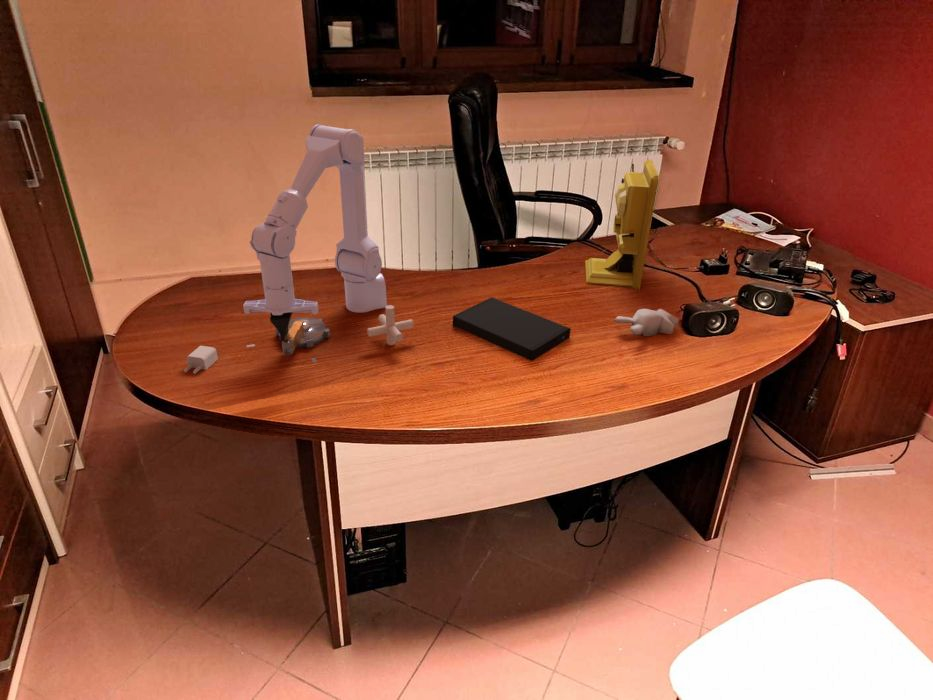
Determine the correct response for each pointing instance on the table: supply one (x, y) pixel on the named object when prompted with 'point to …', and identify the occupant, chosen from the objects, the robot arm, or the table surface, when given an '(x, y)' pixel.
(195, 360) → the usb wall charger
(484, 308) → the external hard drive
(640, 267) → the vintage telephone
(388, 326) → the pipe connector
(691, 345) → the table surface
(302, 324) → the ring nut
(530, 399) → the table surface
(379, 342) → the table surface
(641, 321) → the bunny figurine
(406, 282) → the table surface
